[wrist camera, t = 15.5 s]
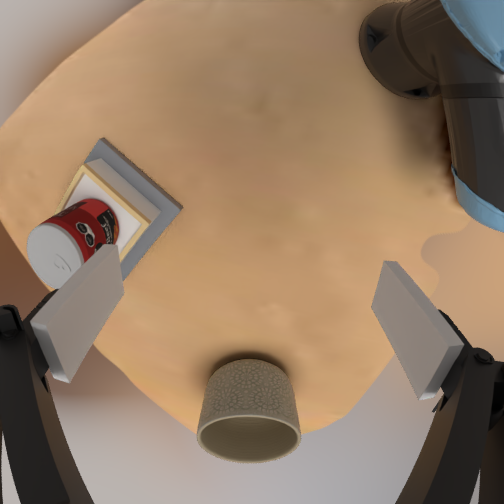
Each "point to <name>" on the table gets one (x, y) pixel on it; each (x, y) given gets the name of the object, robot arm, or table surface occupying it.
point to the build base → (123, 200)
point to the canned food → (70, 240)
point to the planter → (249, 413)
